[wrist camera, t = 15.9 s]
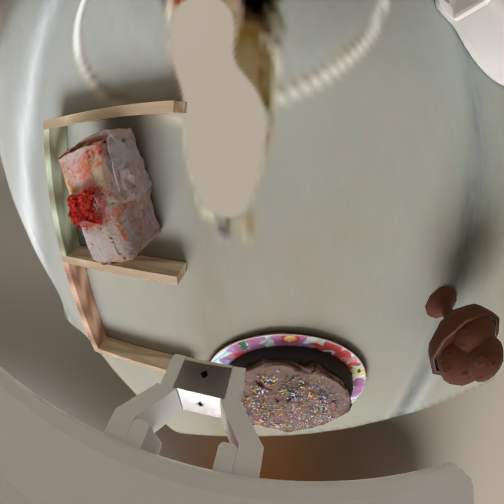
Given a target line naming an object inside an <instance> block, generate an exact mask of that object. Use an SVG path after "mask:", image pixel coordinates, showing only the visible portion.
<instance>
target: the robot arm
mask: <svg viewBox="0 0 504 504" xmlns="http://www.w3.org/2000/svg"><path fill="white" fill-rule="evenodd" d="M435 5H436V7H437V9H438V10H439V11H440V13H441V14H442V15H443V16H444V17H445V18H446V19H447V20H448V21H449V22H450V23H451V24H452V25H453V27H454V28H455V30H456V31H457V33H458V35H459V37H460V39H461V40H462V42H463V44H464V46H465V47H466V49H467V50H468V52H469V53H470V55H471V56H472V58H473V59H474V60H475V62H476V63H477V64H478V65H479V67H480V68H481V69H482V70H483V71H484V72H485V73H486V74H487V75H488V76H489V77H491V78H492V79H493V80H494V81H496V82H497V83H499V84H501V85H503V86H504V0H446V1H445V0H435ZM245 373H246V368H242V367H235V366H231V365H225V364H220V363H214V362H208V361H203V360H199V359H195V358H190V357H187V356H183V355H179V354H175V355H174V356H173V357H172V359H171V362H170V364H169V366H168V368H167V370H166V373H165V375H164V377H163V379H162V382H161V384H159V383H157V384H155V385H153V386H152V387H150V388H149V389H147V390H146V391H144V392H142V393H141V394H139V395H137V396H136V397H134V398H133V399H131V400H129V401H128V402H126V403H124V404H123V405H121V406H119V407H118V408H116V409H115V411H114V413H113V415H112V417H111V419H110V421H109V423H108V425H107V428H106V430H105V431H104V433H102V432H100V431H98V430H96V429H94V428H92V427H90V426H88V425H86V424H84V423H82V422H81V421H79V420H77V419H75V418H73V417H72V416H70V415H68V414H66V413H65V412H63V411H61V410H59V409H58V408H56V407H55V406H53V405H52V404H50V403H49V402H47V401H46V400H44V399H42V398H41V397H40V396H38V395H37V394H35V393H34V392H32V391H31V390H30V389H28V388H27V387H25V386H24V385H23V384H21V383H20V382H19V381H18V380H16V379H15V378H14V377H12V376H11V375H10V374H9V373H7V372H6V371H5V370H4V369H3V368H2V367H0V504H474V494H473V484H472V481H471V479H470V477H469V476H468V475H467V474H466V473H465V472H464V471H463V470H462V469H461V468H460V467H459V466H458V465H457V464H455V463H446V464H442V465H439V466H435V467H431V468H427V469H423V470H419V471H414V472H409V473H404V474H399V475H393V476H386V477H379V478H372V479H361V480H349V481H325V482H324V481H320V482H315V481H286V480H274V479H264V478H259V474H260V468H261V462H262V456H263V450H264V447H263V446H262V444H261V442H260V440H259V438H258V436H257V434H256V432H255V429H254V427H253V425H252V423H251V421H250V419H249V417H248V415H247V413H246V411H245V409H244V406H243V404H242V403H241V400H242V395H243V389H244V382H245ZM182 409H185V410H189V411H194V412H198V413H203V414H207V415H211V416H215V417H219V418H221V420H222V423H223V425H224V428H225V431H226V433H227V436H228V438H229V441H230V443H225V442H222V443H221V444H219V447H218V450H217V454H216V458H215V461H214V465H213V469H212V470H210V469H205V468H201V467H197V466H193V465H189V464H185V463H182V462H178V461H175V460H172V459H168V458H165V457H162V456H159V455H158V454H159V451H160V448H161V445H162V444H161V442H160V440H159V439H158V437H157V436H156V435H155V432H156V431H157V430H158V429H160V428H161V427H162V426H164V425H165V424H166V423H167V422H169V421H170V420H171V419H172V418H173V417H175V416H176V415H177V414H178V413H180V412H181V411H182Z"/></svg>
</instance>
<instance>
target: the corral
mask: <svg viewBox="0 0 504 504" xmlns="http://www.w3.org/2000/svg"><path fill="white" fill-rule="evenodd" d="M186 108H187V102H183V101H174V100H172V101H158V102H146V103H137V104H128V105H121V106H114V107H107V108H101V109H95V110H90V111H85V112H80V113H75V114H71V115H66V116H62V117H58V118H54V119H51V120H47V121H44V149H45V163H46V174H47V183H48V190H49V197H50V204H51V210H52V215H53V221H54V226H55V231H56V235H57V240H58V244H59V248H60V252H61V256H62V260H63V264H64V267H65V271H66V274H67V278H68V281H69V284H70V287H71V290H72V293H73V296H74V299H75V302H76V305H77V308H78V311H79V313H80V316H81V319H82V321H83V324H84V326H85V329H86V331H87V334H88V336H89V338H90V341H91V343H92V345H93V348H94V350H95V351H97V352H99V353H102V354H105V355H107V356H110V357H113V358H116V359H119V360H122V361H125V362H128V363H131V364H134V365H138V366H141V367H144V368H148V369H151V370H155V371H158V372H162V373H166V370H167V368H168V366H169V364H170V362H171V359H172V357H173V356H174V355H171V354H167V353H163V352H159V351H155V350H152V349H148V348H144V347H141V346H137V345H134V344H130V343H127V342H124V341H120V340H117V339H114V338H111V337H108V336H106V333H105V330H104V328H103V325H102V322H101V319H100V316H99V313H98V310H97V307H96V304H95V301H94V297H93V294H92V291H91V287H90V284H89V280H88V276H87V272H86V268H91V269H95V270H100V271H105V272H110V273H114V274H119V275H124V276H129V277H134V278H140V279H145V280H150V281H156V282H161V283H167V284H172V285H178V284H179V282H180V280H181V279H182V277H183V276H184V274H185V272H186V271H187V262H183V261H176V260H169V259H163V258H156V257H149V256H143V255H137V256H136V257H135V258H134V259H132V260H129V261H125V262H121V263H115V264H112V263H107V264H106V265H102V264H99V263H98V262H96V261H95V260H94V259H92V256H91V254H90V250H89V249H88V247H87V246H81V245H80V242H79V237H78V232H77V227H76V224H75V225H73V223H71V221H72V219H71V217H69V216H68V213H69V206H68V205H67V203H68V201H67V198H68V196H69V195H70V194H69V191H68V188H67V186H66V183H65V180H64V176H63V172H62V167H61V165H60V162H59V160H58V159H59V158H60V156H61V155H62V154H63V153H64V152H65V151H67V125H72V124H77V123H83V122H89V121H95V120H102V119H109V118H117V117H126V116H136V115H148V114H164V113H186ZM85 267H86V268H85Z"/></svg>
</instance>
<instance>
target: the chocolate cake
mask: <svg viewBox="0 0 504 504" xmlns="http://www.w3.org/2000/svg"><path fill="white" fill-rule="evenodd" d="M210 362H214V363H220V364H225V365H231V366H235V367H242V368H246V373H245V382H244V389H243V395H242V400H241V403H242V404H243V406H244V409H245V411H246V413H247V415H248V417H249V419H250V421H251V423H252V425H260V426H262V427H268V428H274V429H279V430H282V431H285V432H292V431H296V430H302V429H308V428H313V427H315V426H319V425H324V424H325V423H328V422H329V421H332V420H334V419H335V418H337V417H340V416H342V415H344V414H345V413H347V412H348V411H349V410H350V408H351V406H352V402H353V401H355V400H356V399H357V398H358V396H359V395H360V394H361V392H362V390H363V388H364V386H365V382H366V376H367V375H366V370H365V366H364V364H363V362H362V361H361V360H360V359H359V358H358V357H357V355H356V354H355V353H354V352H353V351H351V350H348V349H347V348H346V347H344V346H341V345H340V344H338V343H336V342H335V341H334V340H332V339H328V338H321V337H314V336H306V335H301V334H296V333H293V334H291V333H290V334H287V333H285V332H284V331H282V332H268V333H265V334H263V335H256V336H254V337H250V338H247V339H243V340H238V341H235V342H232V343H230V344H228V345H226V346H225V347H223V348H222V349H220V351H218V352H217V353H216V354H215V355H214V356H213V358H212V359H211V360H210Z"/></svg>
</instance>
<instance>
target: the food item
mask: <svg viewBox="0 0 504 504" xmlns="http://www.w3.org/2000/svg"><path fill="white" fill-rule="evenodd" d="M58 160H59V162H60V165H61V167H62V172H63V176H64V180H65V183H66V186H67V188H68V191H69V194H70V195H69V196H68V198H67V201H68V203H67V205H68V206H69V213H68V216H69V217H71V219H72V221H71V223H73V225H75V224H76V227H78V228H79V229H80V228H82V232H83V235H84V237H85V240H86V243H87V246H88V249H89V250H90V254H91V256H92V259H94V260H95V261H96V262H98V263H99V264H102V265H106V264H107V263H112V264H115V263H121V262H125V261H129V260H132V259H134V258H135V257H136V256H137V254H138V253H139V252H140V251H141V250H142V249H143V248H145V247H146V245H147V244H148V243H150V242H151V241H152V239H153V238H154V237H155V236H156V235H158V234H159V233H160V232H161V228H160V226H159V223H158V221H157V219H156V217H155V215H154V208H153V204H152V201H151V198H150V194H151V190H152V179H151V178H150V176H149V174H148V171H146V170H145V167H144V160H143V158H142V157H141V156H140V155H139V151H138V149H137V146H136V139H135V136H134V132H133V131H132V129H131V128H129V127H128V128H126V129H122V128H118V129H112V130H105V129H104V130H102V131H99V132H97V133H96V134H93V135H91V136H89V137H87V138H85V139H83V140H82V141H81V142H79V143H78V144H77V145H76V146H74V147H72V148H70V149H69V150H67V151H65V152H64V153H63V154H62V155H61V156H60V158H59V159H58Z"/></svg>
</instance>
